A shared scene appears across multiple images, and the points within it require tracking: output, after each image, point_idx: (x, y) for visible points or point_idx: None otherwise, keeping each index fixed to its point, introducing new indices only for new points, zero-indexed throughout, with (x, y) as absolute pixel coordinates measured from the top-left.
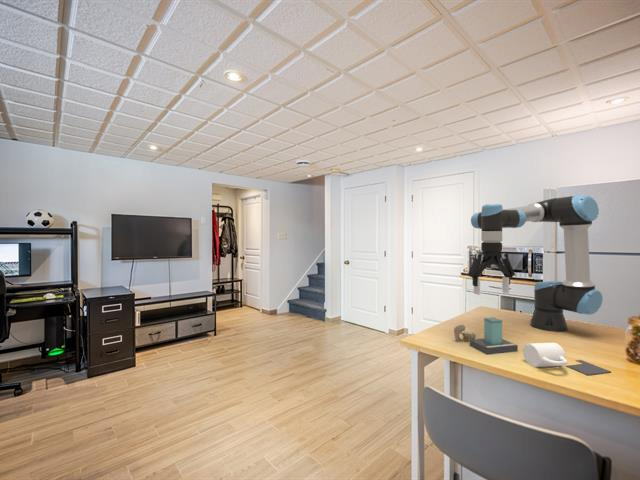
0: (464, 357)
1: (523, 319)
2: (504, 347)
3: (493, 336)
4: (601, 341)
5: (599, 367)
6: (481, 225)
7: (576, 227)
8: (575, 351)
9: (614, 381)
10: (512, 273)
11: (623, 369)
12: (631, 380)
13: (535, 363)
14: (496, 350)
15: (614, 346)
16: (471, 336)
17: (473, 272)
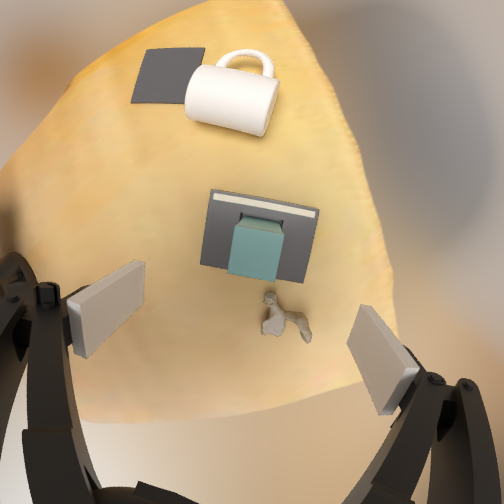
0: (375, 226)
1: None
2: (258, 197)
3: (276, 225)
4: (12, 183)
5: (143, 66)
6: None
7: None
8: (86, 150)
9: (188, 26)
10: (15, 305)
11: (112, 59)
12: (156, 25)
13: (275, 99)
14: (286, 202)
15: (18, 155)
16: (276, 300)
17: (480, 401)
